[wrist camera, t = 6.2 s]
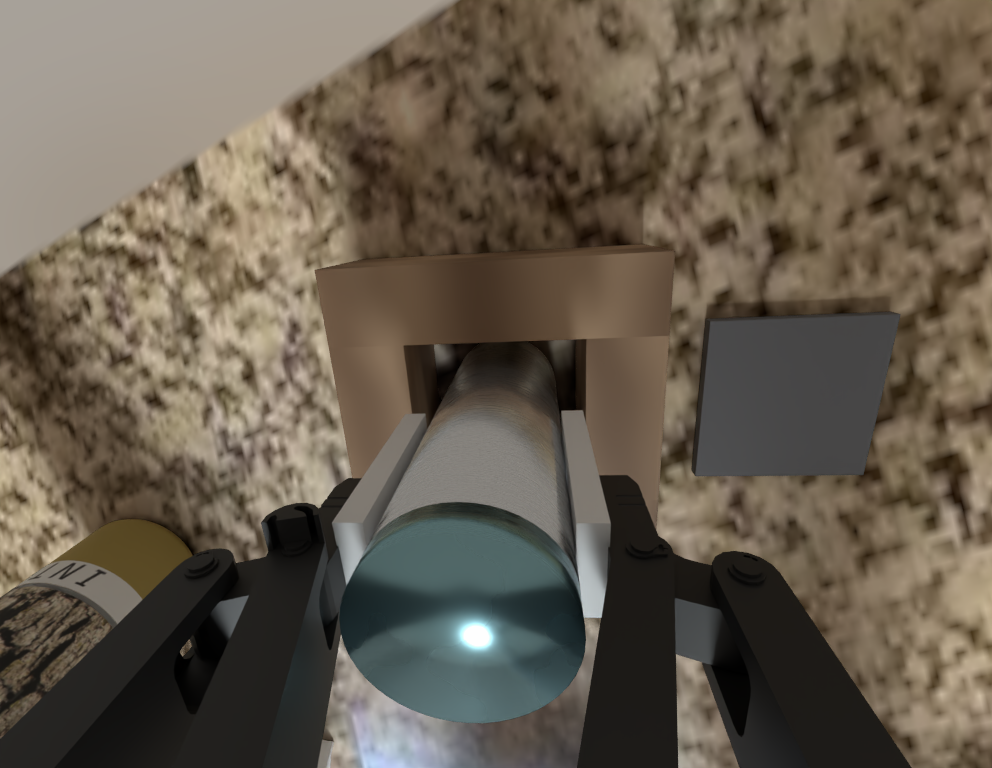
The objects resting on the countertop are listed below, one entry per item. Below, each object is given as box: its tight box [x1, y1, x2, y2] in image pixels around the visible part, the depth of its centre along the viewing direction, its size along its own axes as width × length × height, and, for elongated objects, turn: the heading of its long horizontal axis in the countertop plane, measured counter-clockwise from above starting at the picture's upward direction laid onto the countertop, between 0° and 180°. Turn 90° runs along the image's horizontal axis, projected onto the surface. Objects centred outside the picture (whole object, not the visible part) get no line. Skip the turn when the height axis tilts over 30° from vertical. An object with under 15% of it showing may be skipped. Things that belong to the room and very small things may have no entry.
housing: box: [315, 244, 675, 529], centre depth 21 cm, size 13×13×5 cm
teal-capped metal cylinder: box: [339, 341, 586, 723], centre depth 16 cm, size 5×5×15 cm
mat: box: [692, 312, 901, 476], centre depth 22 cm, size 8×8×1 cm
